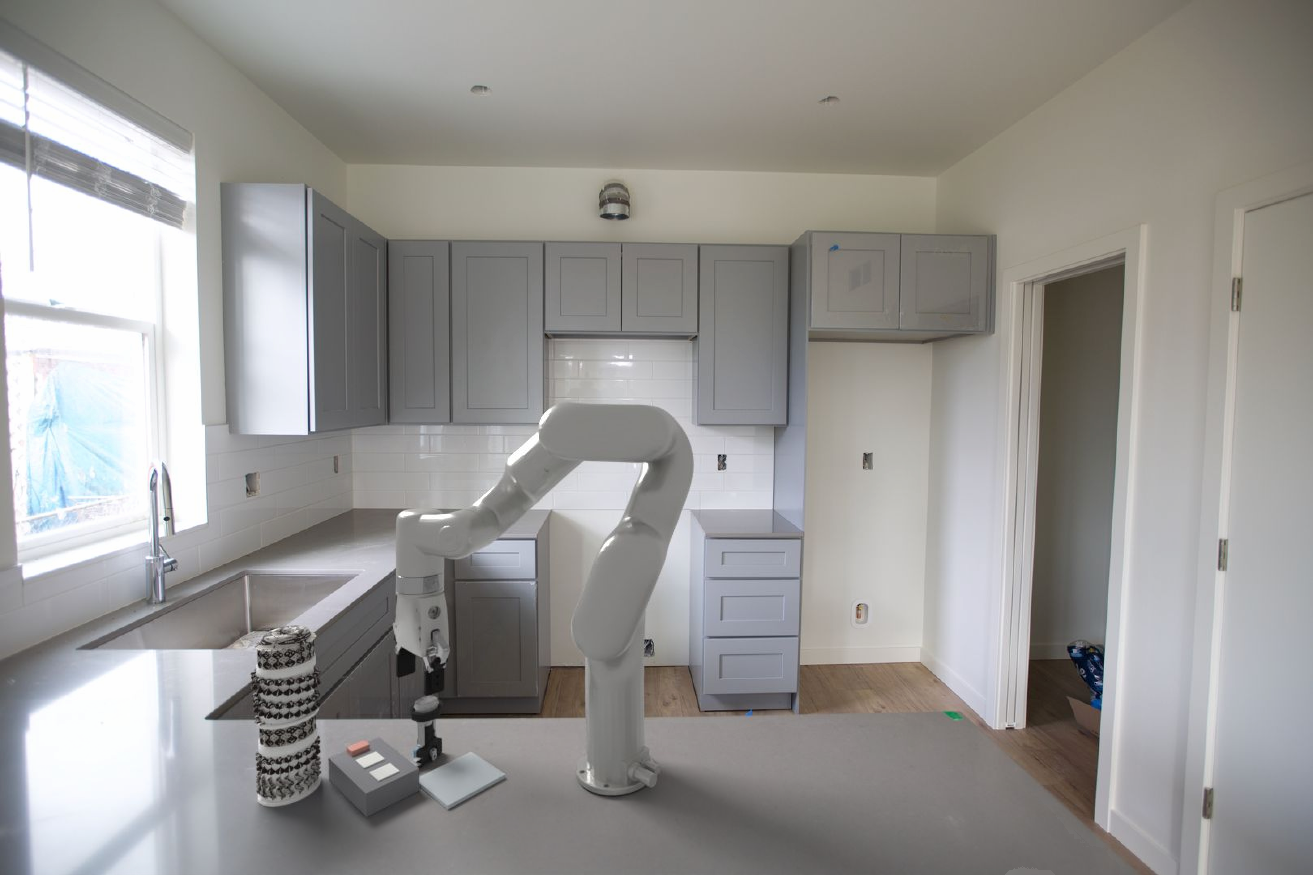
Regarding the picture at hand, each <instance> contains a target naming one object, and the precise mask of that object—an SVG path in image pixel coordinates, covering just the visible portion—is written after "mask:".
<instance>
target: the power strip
mask: <svg viewBox="0 0 1313 875" xmlns="http://www.w3.org/2000/svg"><path fill="white" fill-rule="evenodd" d="M327 762H328V780H329V781H330V782H331V783H332V785H334V786H335V787H336V788H337V789H338V790H339V791H340V793H342V794H343V795H344V796H345V797H346V798H347V799H348V800H349V801H350V802H351V803H352V804H353V806H354V807H355V808H356V809H358V811H360V813H362V814H363V816H364V817H365V818H368V817H370V816H373V815H374V814H376V813H378V812H380V811H382V810H384V809H385V808H388V807H390V806H392V805H393V804H396V803H398V802H400V801H402V800H404V799H406V798H408V797H410V796H412V795H414V794H416V793H417V792H419V791H420V787H419V777H420V768H419V766H415V765H414V764H413V763H411V761H410V760H409V759H408V758H407V757H405V755H403V754H401V753H400V752H399V751H398V750H396V749H395V748H394V747H392V746H391V745H390V744H389V743H387V742H386V741H385V740H383V739H382V738H381V737H380V736H377V737H376V738H372V739H371V740H368V741H366V740H365V739H363V740H361V741H359V742H355V743H354V744H351V745H349V746H347V747H346V750H344V751H341V752H339V753H336V754H334V755H332V756H329V757H328V761H327Z"/></svg>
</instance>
